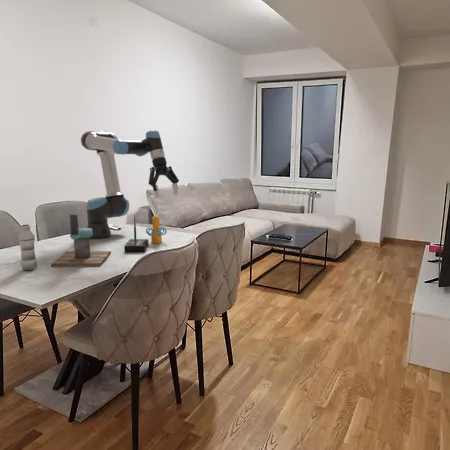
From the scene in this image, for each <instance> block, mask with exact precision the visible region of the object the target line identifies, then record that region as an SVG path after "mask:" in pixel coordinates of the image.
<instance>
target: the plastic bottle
mask: <svg viewBox="0 0 450 450" xmlns="http://www.w3.org/2000/svg"><path fill="white" fill-rule="evenodd" d="M20 230H21V231H20V233H19V234H18V242H19V247H20V256H21V257H20V266H21V269H22V270H23V271H33V270H35V269H36V268H37V267H38V261H37V258H36V253H35V242H36V241H35V237H36V236H35V234H34V233H33V231H31V224H22V225H20Z"/></svg>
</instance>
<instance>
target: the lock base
mask: <svg viewBox="0 0 450 450" xmlns="http://www.w3.org/2000/svg"><path fill="white" fill-rule="evenodd" d="M90 243H91V242H90V238H89V237H88V238H78V239H73V247H74V250H73V251H72V250H69V251H67V250H66V251H65V252H63V253H62V254H61V255H60V256H59V257H57V258H56V259H55V260H53V262H51V263H50V266H51V267H52V268H53V267H54V268H56V267H57V268H58V267H59V268H60V267H61V268H62V267H70V268H71V267H101V266H102V265H103V264H104V263H105V262H106V260H107V259H108V258H109V256H110V255H111V253H112V251H111V250H91V244H90Z"/></svg>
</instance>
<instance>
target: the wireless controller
mask: <svg viewBox="0 0 450 450" xmlns="http://www.w3.org/2000/svg"><path fill="white" fill-rule="evenodd" d="M133 234H134V235H133V236H134V237H133V238H134V239H133V238H131V239H128V241H127V242H126V243H125V245H124V246H123V248H124V253H125V254H127V253H128V254H131V253H132V254H133V253H144V254H145V253H146V252H147V249H148V247H149V245H150V244H149V239H148V238H146V239H144V238H142V239H141V238H139V239H138V238H137V226H136V214H134V215H133Z"/></svg>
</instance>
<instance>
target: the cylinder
mask: <svg viewBox="0 0 450 450" xmlns="http://www.w3.org/2000/svg"><path fill="white" fill-rule="evenodd" d="M151 219H152V227H147V228H146V229H145V233H146V234H147V235H148V236H149V237H150V240H151V241H150V242H151V243H152V244H160V243H162V242H163V238H162V237H163V236H165V235H166V234H167V231H168V230H167V229H166V227H165V228H164V226H161V225H160V224H161V223H160V216H158V215H155V216H152V217H151ZM150 231H151V232H150Z"/></svg>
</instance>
